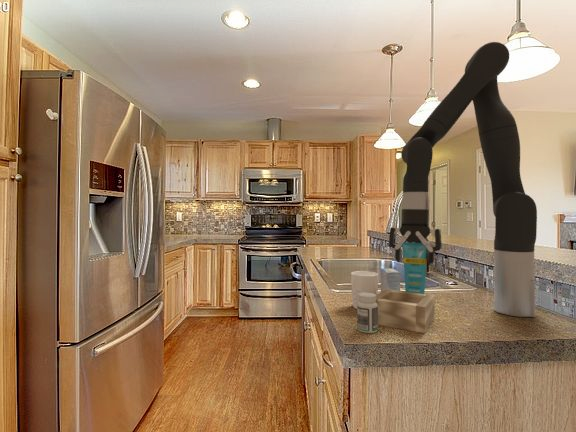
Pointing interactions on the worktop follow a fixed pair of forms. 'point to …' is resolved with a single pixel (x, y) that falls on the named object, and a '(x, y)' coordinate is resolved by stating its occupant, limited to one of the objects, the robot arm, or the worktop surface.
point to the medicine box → (390, 279)
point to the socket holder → (405, 310)
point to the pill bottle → (367, 313)
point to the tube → (415, 266)
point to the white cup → (363, 284)
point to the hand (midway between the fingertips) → (414, 263)
